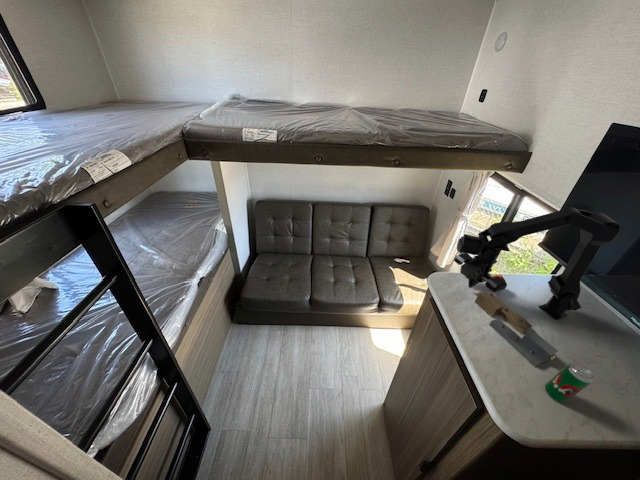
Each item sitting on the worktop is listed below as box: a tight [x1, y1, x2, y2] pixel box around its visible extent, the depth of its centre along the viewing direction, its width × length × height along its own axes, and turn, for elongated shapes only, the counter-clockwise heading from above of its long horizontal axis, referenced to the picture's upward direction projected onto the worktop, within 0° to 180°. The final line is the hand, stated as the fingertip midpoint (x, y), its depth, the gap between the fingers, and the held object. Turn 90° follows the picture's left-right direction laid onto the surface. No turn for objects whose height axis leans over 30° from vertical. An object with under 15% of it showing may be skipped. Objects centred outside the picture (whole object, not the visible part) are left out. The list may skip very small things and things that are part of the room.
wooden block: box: [474, 291, 533, 334], centre depth 91 cm, size 8×16×4 cm, turn 22°
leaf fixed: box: [488, 318, 559, 367], centre depth 82 cm, size 7×17×4 cm, turn 22°
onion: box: [491, 273, 507, 283], centre depth 101 cm, size 6×6×8 cm
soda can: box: [544, 362, 595, 403], centre depth 67 cm, size 5×5×12 cm
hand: (470, 287), depth 100 cm, fingers closed
